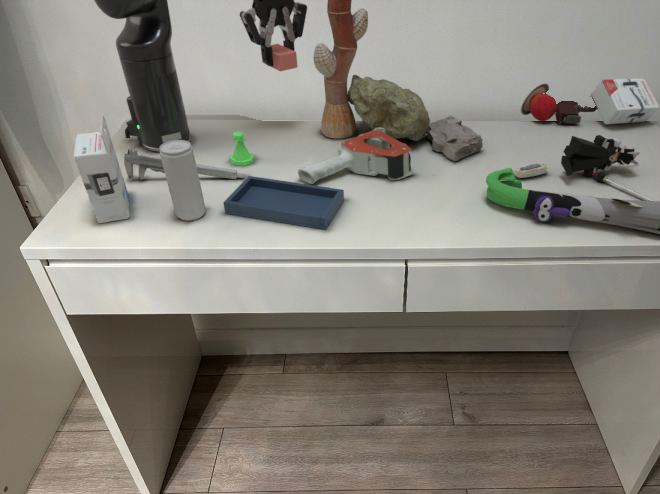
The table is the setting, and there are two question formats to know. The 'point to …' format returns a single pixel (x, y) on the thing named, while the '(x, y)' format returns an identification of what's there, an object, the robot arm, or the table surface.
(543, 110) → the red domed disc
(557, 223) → the table surface
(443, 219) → the table surface
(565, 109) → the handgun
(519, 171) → the bacterium model
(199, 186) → the beverage can
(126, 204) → the product box
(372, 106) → the rock
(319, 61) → the plant stem model
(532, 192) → the toy
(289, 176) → the table surface
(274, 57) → the eraser
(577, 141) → the toy
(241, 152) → the game piece
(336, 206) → the tray
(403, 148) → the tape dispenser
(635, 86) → the ink box
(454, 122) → the stone
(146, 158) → the caliper
